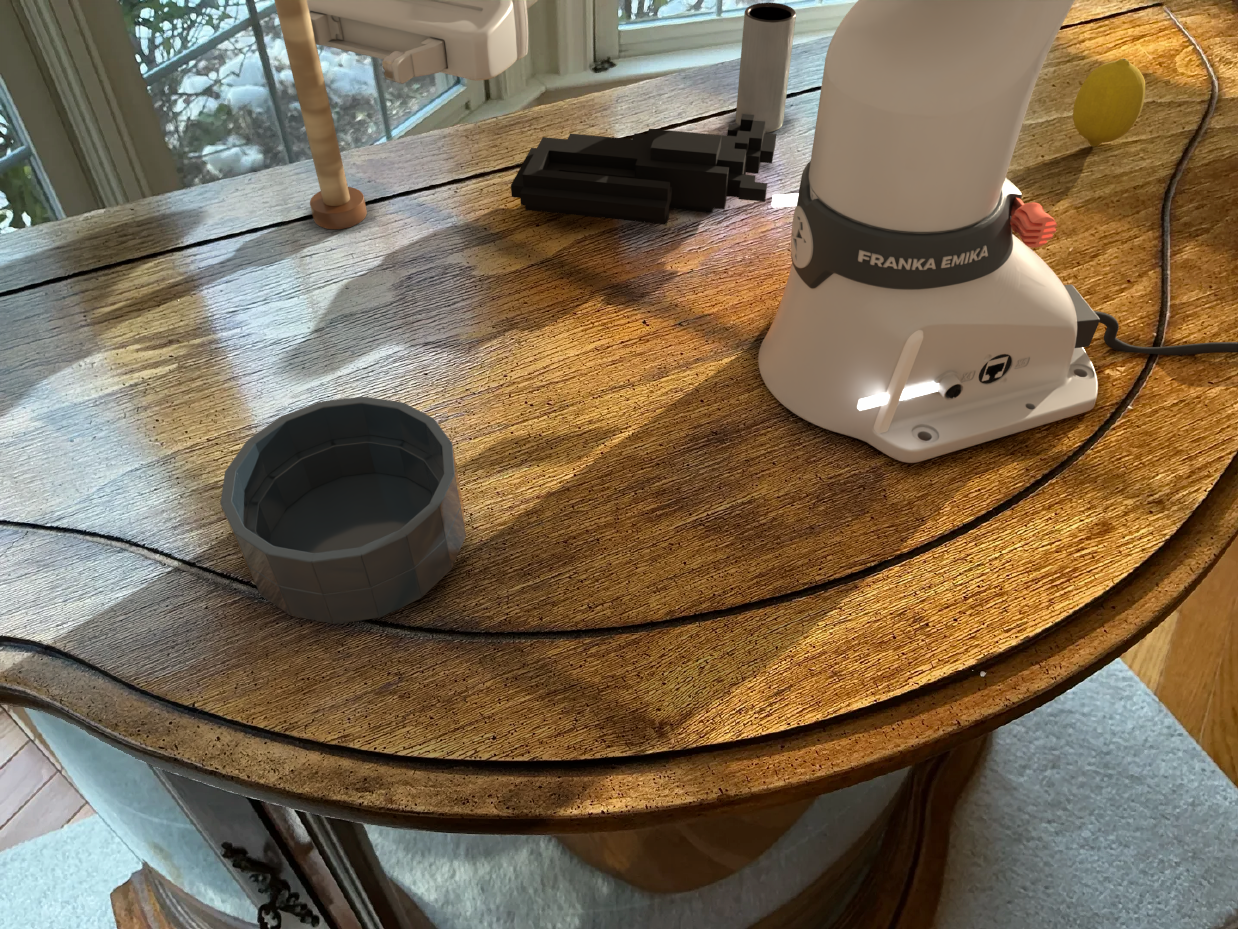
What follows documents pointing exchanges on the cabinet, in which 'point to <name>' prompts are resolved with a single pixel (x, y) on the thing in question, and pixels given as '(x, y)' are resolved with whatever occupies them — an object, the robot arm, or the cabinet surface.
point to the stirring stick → (318, 121)
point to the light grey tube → (765, 63)
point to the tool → (645, 172)
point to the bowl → (346, 508)
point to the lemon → (1109, 102)
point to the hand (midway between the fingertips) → (341, 60)
